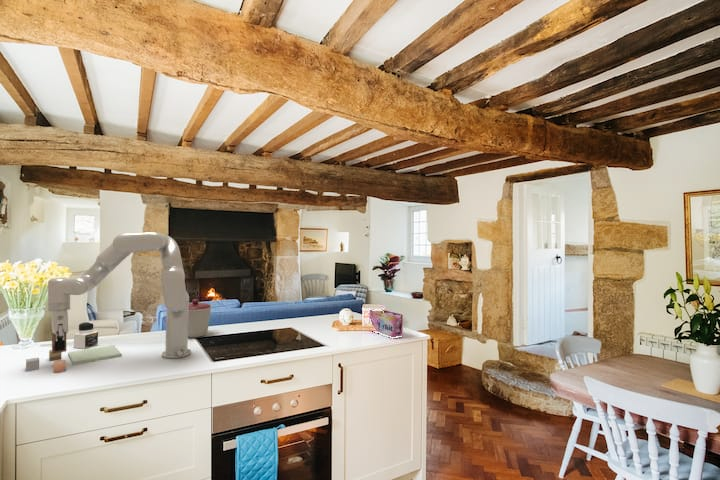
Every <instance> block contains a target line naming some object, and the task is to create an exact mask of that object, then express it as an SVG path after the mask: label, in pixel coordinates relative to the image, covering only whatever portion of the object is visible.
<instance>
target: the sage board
mask: <svg viewBox="0 0 720 480" xmlns="http://www.w3.org/2000/svg"><path fill="white" fill-rule="evenodd" d="M67 353H68V354H67V355H68V357H69V360H70V361H71V364H72V365H79V364H85V363H90V362H96V361H104V360H108V359H113V358H120V357H121V358H122V357H123V355H122V352H121V351H120V350H119V349H118V348H117V347H116V345H107V346H101V347H94V348H93V347H92V348H87V349H81V350H80V349H79V350H74V351H68V352H67Z"/></svg>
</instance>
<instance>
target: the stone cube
mask: <svg viewBox="0 0 720 480" xmlns="http://www.w3.org/2000/svg"><path fill="white" fill-rule="evenodd" d="M36 370H37V371H38V370H40V357H34V358H28V359H25V371H26V372H31V371H36Z"/></svg>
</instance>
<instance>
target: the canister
mask: <svg viewBox="0 0 720 480" xmlns="http://www.w3.org/2000/svg"><path fill="white" fill-rule="evenodd" d="M212 308H213V306H212V305H211V304H210V303H206V302H200V300H199V299H198V298H194V299H192V300H191V303H190V302H189V313H188V339H191V338H195V339H196V338H202V337H204V336H206V335H207V333H208V330H209V326H210V319H211V311H212Z"/></svg>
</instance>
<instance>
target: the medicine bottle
mask: <svg viewBox="0 0 720 480" xmlns="http://www.w3.org/2000/svg"><path fill="white" fill-rule="evenodd" d="M94 326H95V323H94V322H91V321H87V322H85V321H84V322H81V323H79V325H78V332H76V333H74V334H73V348H74V349H81V350H87V349H91V348H93V347H96V346H98V345H99V344H98V343H99V340H98V339H99V331H96V330H95V331H94V328H95V327H94Z"/></svg>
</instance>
